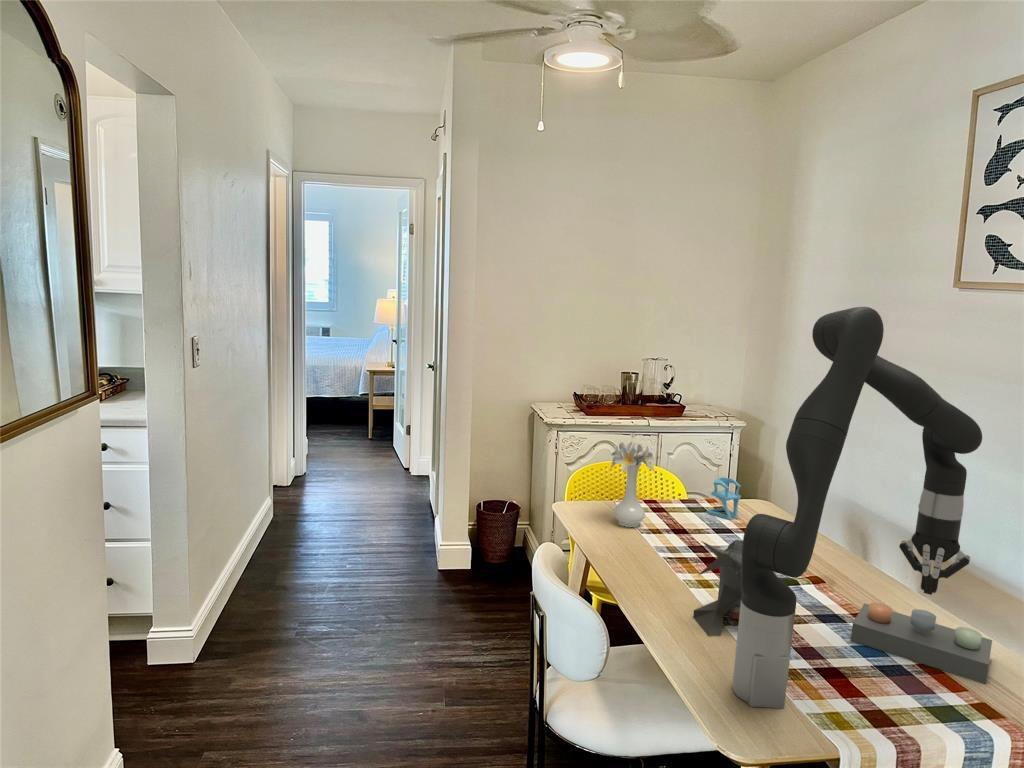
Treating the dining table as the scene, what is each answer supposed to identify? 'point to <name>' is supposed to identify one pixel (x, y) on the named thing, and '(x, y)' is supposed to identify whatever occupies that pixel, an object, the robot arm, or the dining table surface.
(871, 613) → the terracotta button
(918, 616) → the slate button
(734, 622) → the dining table surface
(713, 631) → the grey finned figurine
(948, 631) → the console
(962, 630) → the sage button
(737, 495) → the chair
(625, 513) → the flower vase
